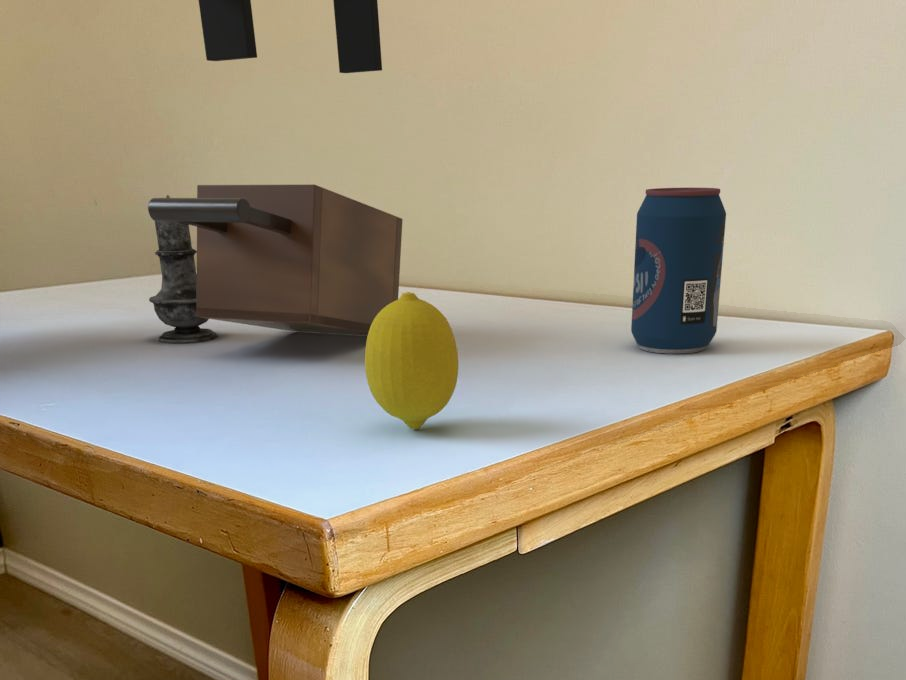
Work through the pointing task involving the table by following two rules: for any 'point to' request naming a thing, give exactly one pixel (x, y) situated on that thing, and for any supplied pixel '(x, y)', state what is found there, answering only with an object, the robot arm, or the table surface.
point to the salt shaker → (178, 285)
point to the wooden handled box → (289, 256)
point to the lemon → (411, 360)
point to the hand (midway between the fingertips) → (302, 66)
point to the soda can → (677, 269)
